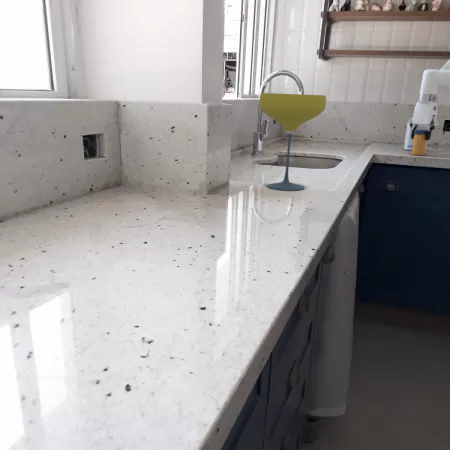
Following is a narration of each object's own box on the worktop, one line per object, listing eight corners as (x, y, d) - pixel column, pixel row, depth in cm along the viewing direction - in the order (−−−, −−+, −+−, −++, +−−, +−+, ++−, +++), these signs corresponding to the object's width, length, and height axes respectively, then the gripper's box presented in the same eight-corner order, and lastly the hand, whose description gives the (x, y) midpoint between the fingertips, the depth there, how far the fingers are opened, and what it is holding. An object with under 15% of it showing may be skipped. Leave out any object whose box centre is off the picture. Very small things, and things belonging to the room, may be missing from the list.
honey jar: (428, 154, 233) (431, 131, 229) (419, 155, 229) (423, 131, 225) (416, 153, 237) (420, 130, 234) (408, 154, 234) (411, 131, 230)
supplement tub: (426, 151, 250) (432, 120, 245) (413, 151, 247) (418, 120, 241) (412, 148, 258) (417, 119, 253) (399, 149, 254) (404, 119, 249)
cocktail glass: (316, 195, 131) (327, 95, 121) (251, 190, 134) (256, 92, 124) (317, 184, 147) (326, 95, 138) (258, 180, 150) (263, 93, 140)
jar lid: (420, 133, 234) (421, 129, 233) (432, 134, 228) (433, 130, 228) (410, 133, 231) (411, 129, 231) (421, 134, 226) (422, 130, 225)
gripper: (449, 99, 219) (441, 140, 226) (416, 98, 232) (409, 137, 239) (439, 99, 215) (431, 141, 222) (406, 98, 228) (399, 137, 235)
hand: (420, 138), depth 231 cm, fingers closed on jar lid, 6 cm apart
